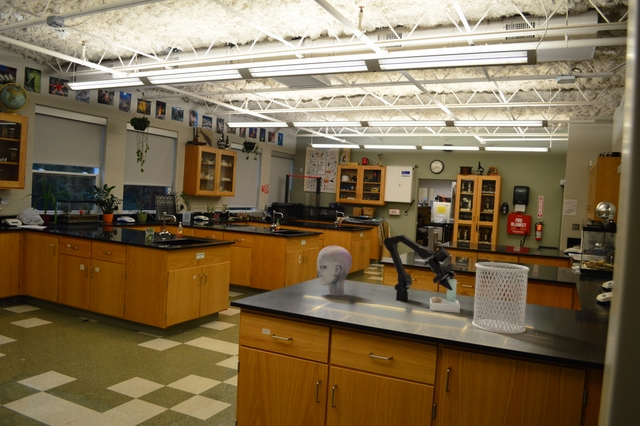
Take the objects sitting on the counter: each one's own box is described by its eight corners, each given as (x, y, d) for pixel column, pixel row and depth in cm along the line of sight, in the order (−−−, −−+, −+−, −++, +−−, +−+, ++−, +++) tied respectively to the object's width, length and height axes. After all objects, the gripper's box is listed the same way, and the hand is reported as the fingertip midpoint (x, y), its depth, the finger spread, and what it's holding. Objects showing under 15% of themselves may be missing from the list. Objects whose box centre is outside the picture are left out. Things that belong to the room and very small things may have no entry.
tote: (430, 310, 256) (430, 303, 256) (429, 305, 270) (429, 298, 270) (459, 313, 253) (460, 305, 253) (457, 307, 267) (457, 300, 267)
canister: (445, 300, 260) (446, 279, 260) (447, 299, 264) (449, 278, 264) (454, 302, 257) (455, 280, 257) (456, 300, 262) (457, 279, 261)
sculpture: (324, 298, 274) (326, 247, 273) (308, 291, 292) (311, 244, 291) (356, 296, 285) (359, 247, 284) (339, 289, 303) (341, 243, 302)
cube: (432, 307, 260) (432, 298, 260) (432, 305, 265) (432, 296, 265) (441, 308, 259) (442, 299, 259) (441, 306, 264) (441, 297, 264)
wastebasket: (506, 336, 211) (510, 270, 210) (461, 323, 231) (464, 263, 230) (536, 329, 226) (539, 268, 225) (491, 318, 246) (494, 261, 245)
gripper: (439, 259, 255) (457, 282, 249) (453, 257, 270) (471, 279, 263) (425, 271, 261) (442, 294, 254) (440, 269, 275) (456, 290, 268)
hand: (453, 289), depth 260 cm, fingers closed on canister, 5 cm apart
